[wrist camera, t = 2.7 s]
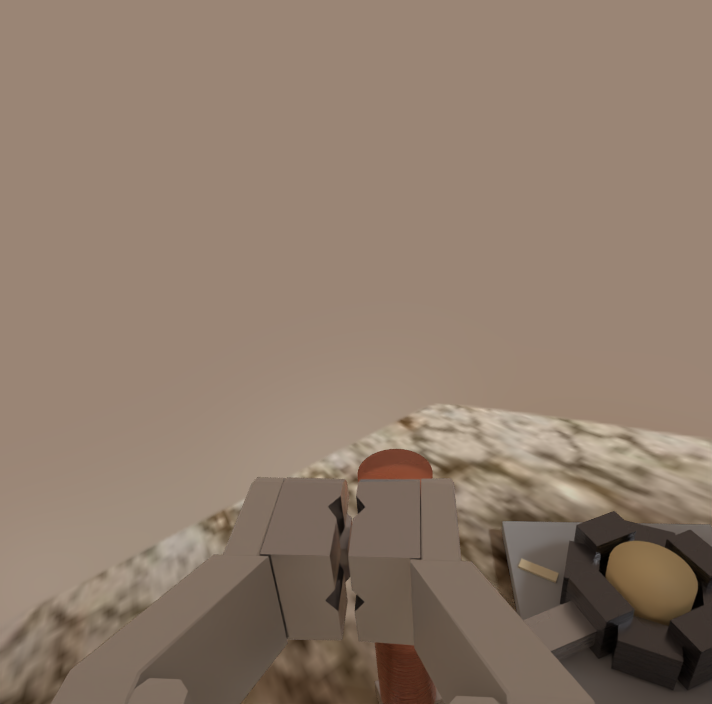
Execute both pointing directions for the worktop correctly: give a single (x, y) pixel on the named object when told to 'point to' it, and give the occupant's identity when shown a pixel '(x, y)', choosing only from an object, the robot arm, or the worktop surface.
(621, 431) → the worktop surface
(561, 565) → the plate
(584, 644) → the nut with spanner
